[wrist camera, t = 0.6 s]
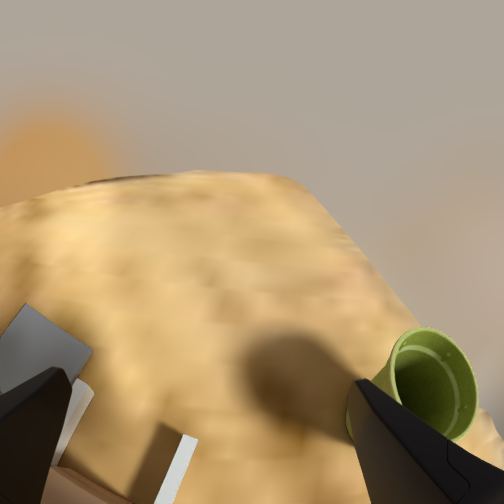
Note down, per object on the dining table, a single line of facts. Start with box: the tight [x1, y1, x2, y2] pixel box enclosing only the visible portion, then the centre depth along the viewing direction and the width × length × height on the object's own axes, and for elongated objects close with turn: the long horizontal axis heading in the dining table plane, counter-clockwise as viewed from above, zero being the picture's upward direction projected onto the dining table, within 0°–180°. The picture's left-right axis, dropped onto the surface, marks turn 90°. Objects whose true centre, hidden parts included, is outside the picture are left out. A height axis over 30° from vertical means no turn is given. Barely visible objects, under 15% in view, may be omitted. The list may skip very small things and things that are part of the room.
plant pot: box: [346, 327, 478, 443], centre depth 18 cm, size 9×9×9 cm
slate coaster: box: [0, 303, 93, 394], centre depth 16 cm, size 8×8×1 cm
